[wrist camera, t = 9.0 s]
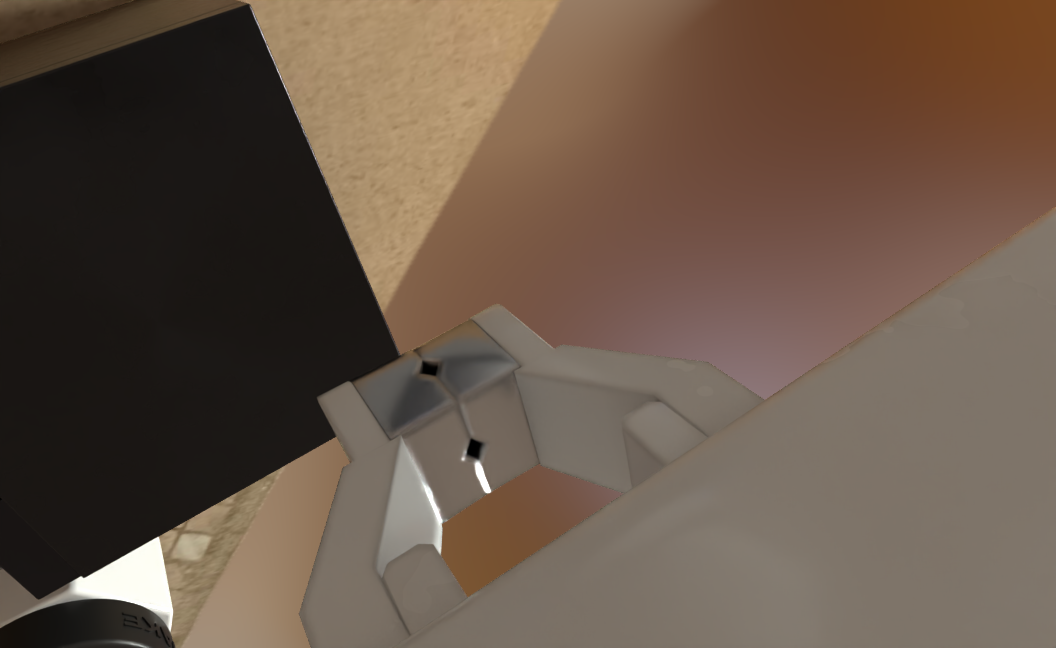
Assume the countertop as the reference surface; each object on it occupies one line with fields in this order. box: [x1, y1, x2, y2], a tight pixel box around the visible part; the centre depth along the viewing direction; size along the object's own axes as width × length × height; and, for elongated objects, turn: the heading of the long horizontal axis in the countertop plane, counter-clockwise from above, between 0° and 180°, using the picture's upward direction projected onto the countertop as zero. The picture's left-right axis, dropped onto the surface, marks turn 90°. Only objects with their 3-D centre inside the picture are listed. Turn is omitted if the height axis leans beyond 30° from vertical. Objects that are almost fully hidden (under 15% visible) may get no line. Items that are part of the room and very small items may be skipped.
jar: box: [0, 537, 175, 648], centre depth 33 cm, size 9×8×12 cm
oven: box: [0, 0, 400, 600], centre depth 28 cm, size 16×16×12 cm
